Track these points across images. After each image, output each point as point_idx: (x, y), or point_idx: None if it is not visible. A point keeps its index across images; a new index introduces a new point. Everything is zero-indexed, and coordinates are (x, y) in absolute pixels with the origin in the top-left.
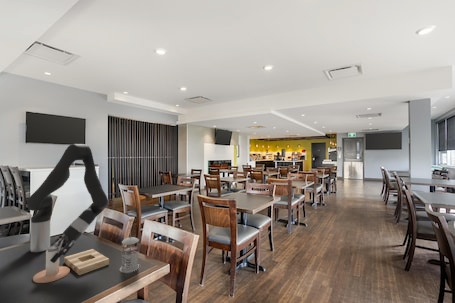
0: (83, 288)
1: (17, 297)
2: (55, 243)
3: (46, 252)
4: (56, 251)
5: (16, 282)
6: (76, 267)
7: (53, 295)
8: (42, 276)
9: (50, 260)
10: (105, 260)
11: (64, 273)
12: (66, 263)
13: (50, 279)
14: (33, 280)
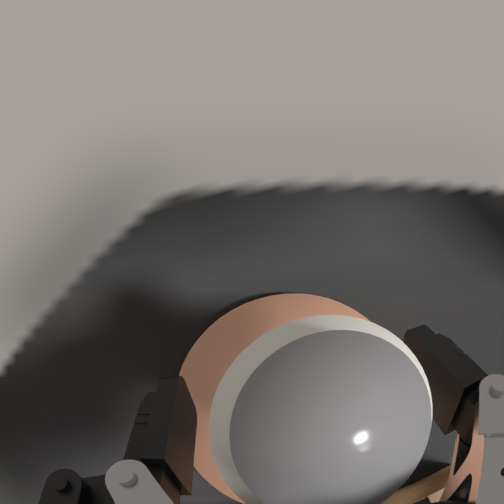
0: (13, 460)
1: (130, 233)
2: (499, 456)
3: (289, 323)
4: (221, 473)
5: (320, 223)
6: None
7: (33, 356)
8: None
9: (170, 377)
10: None
11: None
12: (417, 484)
13: (188, 385)
14: (274, 297)
